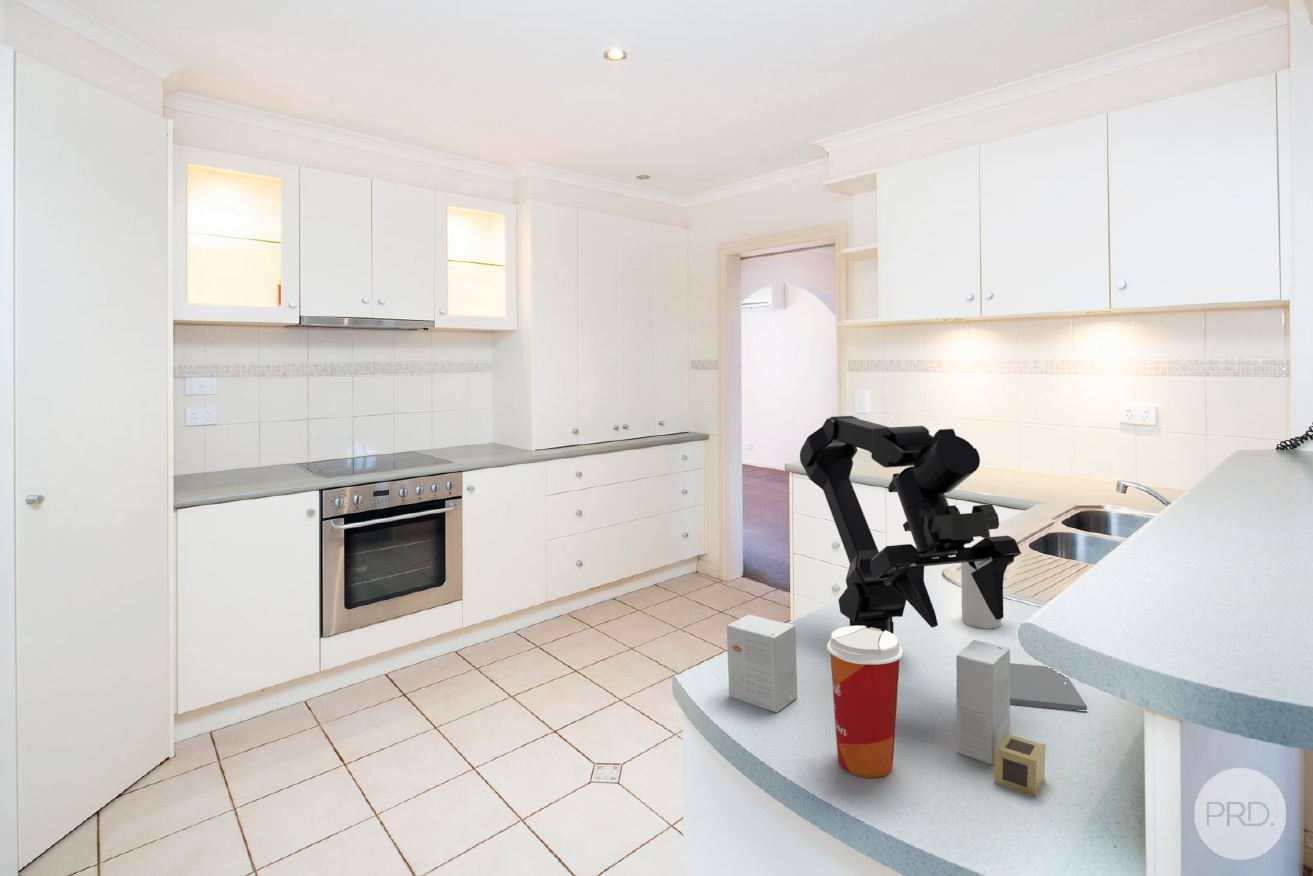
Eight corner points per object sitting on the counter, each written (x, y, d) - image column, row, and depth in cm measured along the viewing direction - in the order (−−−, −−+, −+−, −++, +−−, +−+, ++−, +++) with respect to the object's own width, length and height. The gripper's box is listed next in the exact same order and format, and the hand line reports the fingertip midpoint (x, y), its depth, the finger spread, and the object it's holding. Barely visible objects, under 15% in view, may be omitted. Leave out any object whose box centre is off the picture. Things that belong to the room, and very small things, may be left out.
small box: (798, 698, 93) (797, 625, 93) (776, 714, 89) (775, 637, 88) (750, 682, 99) (748, 613, 98) (727, 697, 95) (726, 624, 94)
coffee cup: (845, 736, 83) (844, 618, 82) (913, 758, 78) (913, 633, 77) (815, 768, 77) (813, 640, 76) (886, 794, 72) (886, 658, 70)
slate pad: (1086, 712, 87) (1086, 706, 87) (985, 701, 91) (985, 695, 91) (1061, 672, 99) (1061, 667, 99) (972, 665, 102) (972, 659, 102)
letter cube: (1035, 798, 70) (1036, 761, 70) (994, 783, 73) (994, 748, 73) (1044, 780, 73) (1045, 745, 73) (1004, 767, 76) (1005, 733, 76)
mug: (1006, 631, 115) (1007, 562, 114) (963, 628, 117) (963, 560, 116) (996, 611, 125) (996, 548, 124) (956, 608, 127) (957, 546, 126)
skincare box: (972, 732, 83) (973, 638, 82) (1010, 744, 80) (1011, 647, 79) (954, 753, 79) (955, 654, 78) (993, 766, 76) (994, 664, 75)
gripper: (890, 486, 83) (933, 612, 75) (1022, 477, 87) (1075, 596, 79) (853, 522, 92) (888, 637, 85) (974, 512, 96) (1017, 621, 88)
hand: (967, 622), depth 84 cm, fingers open, 9 cm apart
